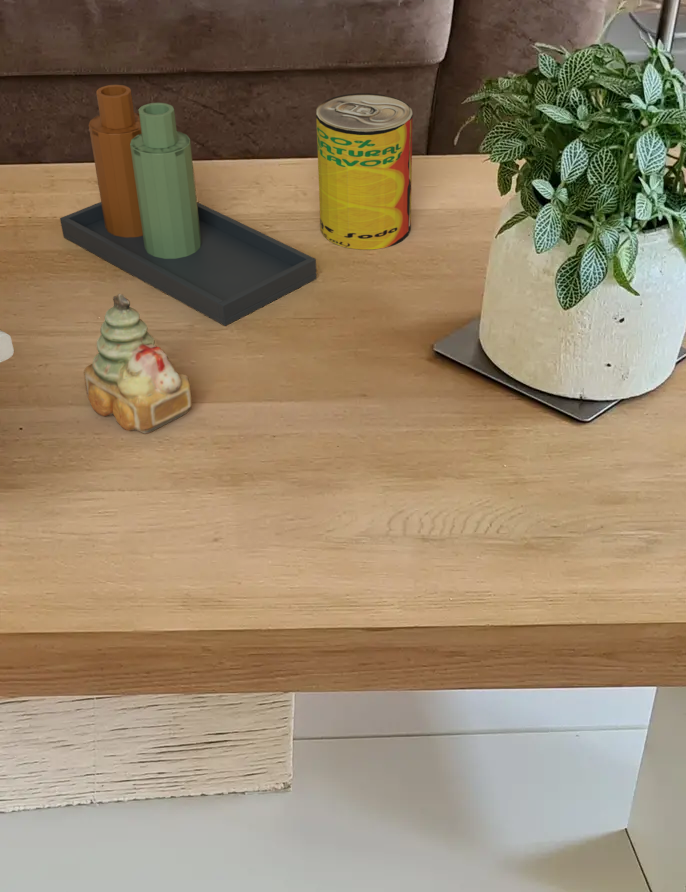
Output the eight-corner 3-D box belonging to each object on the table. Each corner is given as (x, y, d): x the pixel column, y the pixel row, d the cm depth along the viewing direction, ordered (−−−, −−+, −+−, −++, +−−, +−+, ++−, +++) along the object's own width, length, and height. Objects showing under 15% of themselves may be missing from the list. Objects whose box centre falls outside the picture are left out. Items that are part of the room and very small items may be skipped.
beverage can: (392, 256, 112) (393, 137, 104) (305, 239, 114) (300, 122, 106) (422, 215, 118) (425, 101, 111) (340, 200, 120) (337, 87, 113)
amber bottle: (95, 230, 114) (71, 90, 105) (138, 212, 117) (119, 75, 108) (129, 248, 111) (107, 106, 103) (172, 229, 114) (154, 90, 106)
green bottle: (134, 251, 111) (113, 109, 102) (177, 232, 114) (160, 93, 105) (170, 270, 108) (151, 126, 100) (212, 250, 111) (198, 109, 103)
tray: (63, 237, 112) (59, 217, 111) (155, 199, 119) (153, 180, 118) (225, 326, 101) (222, 305, 100) (316, 278, 108) (316, 258, 107)
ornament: (207, 409, 92) (194, 299, 85) (150, 448, 88) (132, 335, 81) (135, 374, 95) (117, 266, 89) (77, 410, 91) (54, 299, 85)
